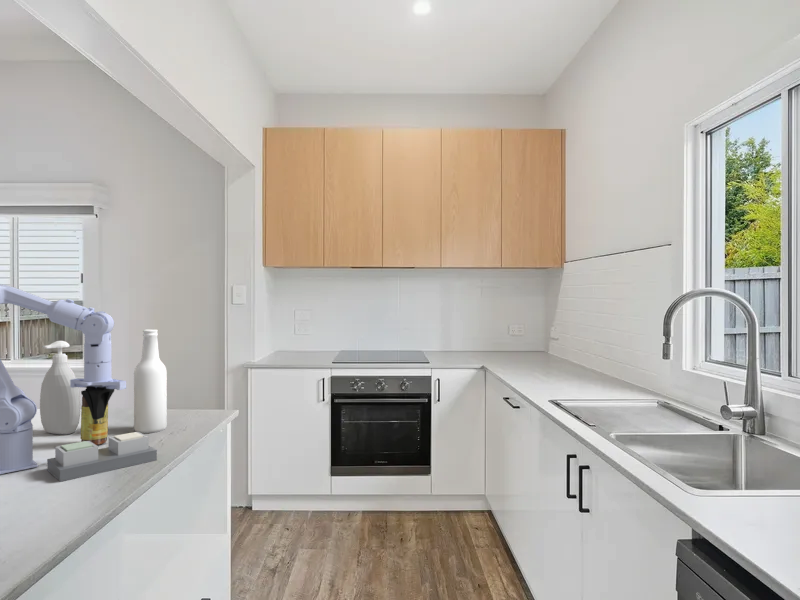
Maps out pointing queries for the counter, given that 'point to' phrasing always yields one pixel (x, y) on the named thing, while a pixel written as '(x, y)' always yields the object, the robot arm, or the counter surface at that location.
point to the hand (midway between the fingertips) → (98, 418)
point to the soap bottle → (59, 395)
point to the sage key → (76, 446)
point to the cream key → (128, 436)
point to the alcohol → (150, 388)
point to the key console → (100, 458)
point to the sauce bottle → (93, 425)
